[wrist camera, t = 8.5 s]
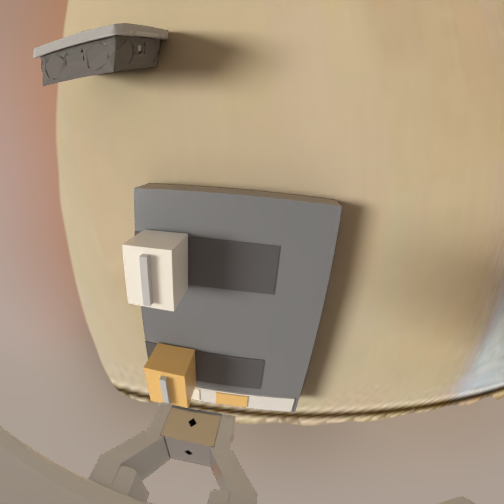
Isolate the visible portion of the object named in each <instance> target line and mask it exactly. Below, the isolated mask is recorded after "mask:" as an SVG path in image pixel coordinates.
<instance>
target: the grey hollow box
mask: <svg viewBox="0 0 504 504" xmlns="http://www.w3.org/2000/svg"><path fill="white" fill-rule="evenodd" d="M165 39H168V30H164V29H159V28H154V27H149V26H143V25H136V24H127V23H121V24H113V25H108V26H104V27H100V28H96V29H92V30H86V31H82V32H80V33H77V34H74V35H71V36H68V37H65V38H62V39H59V40H56V41H53V42H50V43H47V44H45V45H42V46H39V47H37V48H35V49H34V54H33V58H38V57H41V61H42V64H41V69H42V72H43V86H46V85H50V84H54V83H58V82H62V81H67V80H71V79H76V78H81V77H86V76H92V75H97V74H104V73H110V72H114V70H115V72H117V71H124V70H131V69H139V68H148V67H157V64H158V53H159V44H160V40H165Z"/></svg>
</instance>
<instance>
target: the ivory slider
mask: <svg viewBox="0 0 504 504" xmlns="http://www.w3.org/2000/svg"><path fill="white" fill-rule="evenodd" d="M122 247H123V260H124V271H125V280H126V289H127V297H128V303H129V304H134V305H140V306H145V307H150V308H156V309H162V310H168V311H175V309H176V307H177V306H178V304H179V302H180V301H181V299H182V297H183V296H184V294H185V292H186V291H187V289H188V234H186V233H176V232H166V231H155V230H145V229H144V230H143V231H141V232H140V233H138V234H137V235H135V236H134V237H133V238H131V239H130V240H128V241H127V242H125V243H124V244H123V245H122Z"/></svg>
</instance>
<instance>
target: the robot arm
mask: <svg viewBox="0 0 504 504" xmlns="http://www.w3.org/2000/svg"><path fill="white" fill-rule="evenodd" d="M234 428H235V416H231V415H224V414H220V413H213V412H207V411H201V410H194V409H190V408H185V407H181V406H177V405H173V404H169V403H165V402H161V403H160V404H159V405H158V407H157V410H156V412H155V414H154V417H153V419H152V421H151V423H150V426H149V428H148V430H147V432H146V431H143V432H141V433H139V434H137V435H136V436H134V437H132V438H131V439H129V440H127V441H126V442H124V443H122V444H120V445H118V446H117V447H115V448H113V449H111V450H109V451H108V452H106V453H104V454H102V455H100V457H99V459H98V461H97V463H96V465H95V467H94V469H93V471H92V473H91V475H90V477H89V479H87V478H84V477H83V476H80V475H78V474H76V473H74V472H72V471H71V470H69V469H67V468H65V467H63V466H61V465H59V464H57V463H56V462H54V461H52V460H50V459H49V458H47V457H45V456H43V455H42V454H40V453H39V452H37V451H36V450H34V449H32V448H31V447H29V446H28V445H26V444H25V443H23V442H22V441H20V440H19V439H17V438H16V437H15V436H13V435H12V434H10V433H9V432H8V431H6V430H5V429H4V428H2V427H1V426H0V504H152V503H148V502H147V498H148V495H149V492H148V491H147V489H146V487H145V486H144V484H143V482H142V480H144V479H145V478H146V477H148V476H149V475H150V474H152V473H153V472H154V471H156V470H157V469H158V468H159V467H160V466H162V465H163V464H165V463H166V462H167V461H168V460H170V458H173V459H177V460H182V461H187V462H192V463H196V464H200V465H205V466H210V467H211V469H212V471H213V474H214V475H215V478H216V480H217V482H218V485H219V487H220V489H221V490H216V489H214V490H212V491H211V492H210V496H209V500H208V504H256V503H257V493H256V491H255V489H254V488H253V486H252V484H251V482H250V481H249V479H248V477H247V476H246V474H245V472H244V470H243V469H242V467H241V465H240V463H239V461H238V460H237V458H236V456H235V454H234V452H233V451H232V444H233V437H234ZM439 504H475V503H473V502H472V501H470V500H469V499H467V498H465V497H457V498H454V499H451V500H448V501H445V502H442V503H439Z"/></svg>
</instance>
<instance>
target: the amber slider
mask: <svg viewBox="0 0 504 504" xmlns="http://www.w3.org/2000/svg"><path fill="white" fill-rule="evenodd" d="M144 371H145V376H146V381H147V385H148V390H149V394H150V398H151V401H154V402H158V403H161V402H165V403H169V404H173V405H177V406H181V407H185V408H188V407H189V404H190V401H191V398H192V395H193V392H194V389H195V386H196V365H195V350H194V349H188V348H183V347H177V346H172V345H167V344H162V343H157V345H156V347H155V348H154V350H153V352H152V354H151V356H150V357H149V359H148V361H147V363H146V364H145V366H144Z"/></svg>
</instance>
